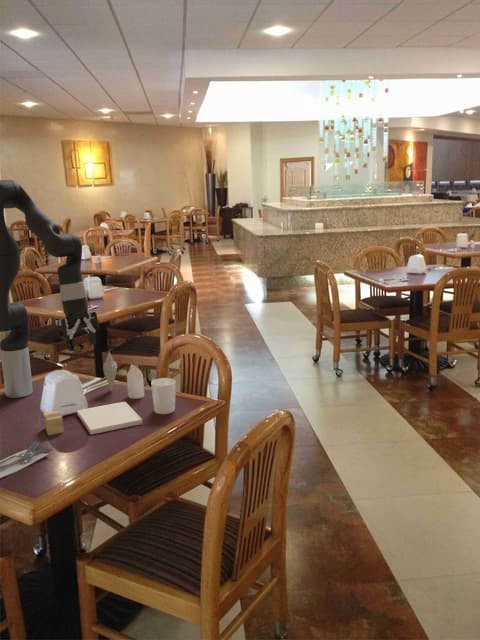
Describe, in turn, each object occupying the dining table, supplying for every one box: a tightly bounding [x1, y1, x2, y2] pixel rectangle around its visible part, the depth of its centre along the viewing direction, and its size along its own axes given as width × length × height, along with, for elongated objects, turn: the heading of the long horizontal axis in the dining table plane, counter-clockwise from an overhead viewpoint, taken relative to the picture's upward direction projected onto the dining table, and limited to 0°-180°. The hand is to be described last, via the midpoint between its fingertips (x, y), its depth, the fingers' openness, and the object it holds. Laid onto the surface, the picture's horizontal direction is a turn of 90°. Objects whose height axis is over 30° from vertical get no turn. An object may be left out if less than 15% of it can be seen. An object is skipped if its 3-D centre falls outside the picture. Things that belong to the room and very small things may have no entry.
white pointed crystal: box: [126, 363, 145, 400], centre depth 200 cm, size 6×12×6 cm
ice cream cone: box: [102, 351, 118, 392], centre depth 206 cm, size 5×5×15 cm
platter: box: [76, 401, 143, 435], centre depth 181 cm, size 18×16×2 cm
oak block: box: [43, 410, 65, 436], centre depth 173 cm, size 6×4×5 cm
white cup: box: [150, 377, 176, 415], centre depth 187 cm, size 8×8×10 cm
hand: (82, 347), depth 182 cm, fingers open, 8 cm apart
